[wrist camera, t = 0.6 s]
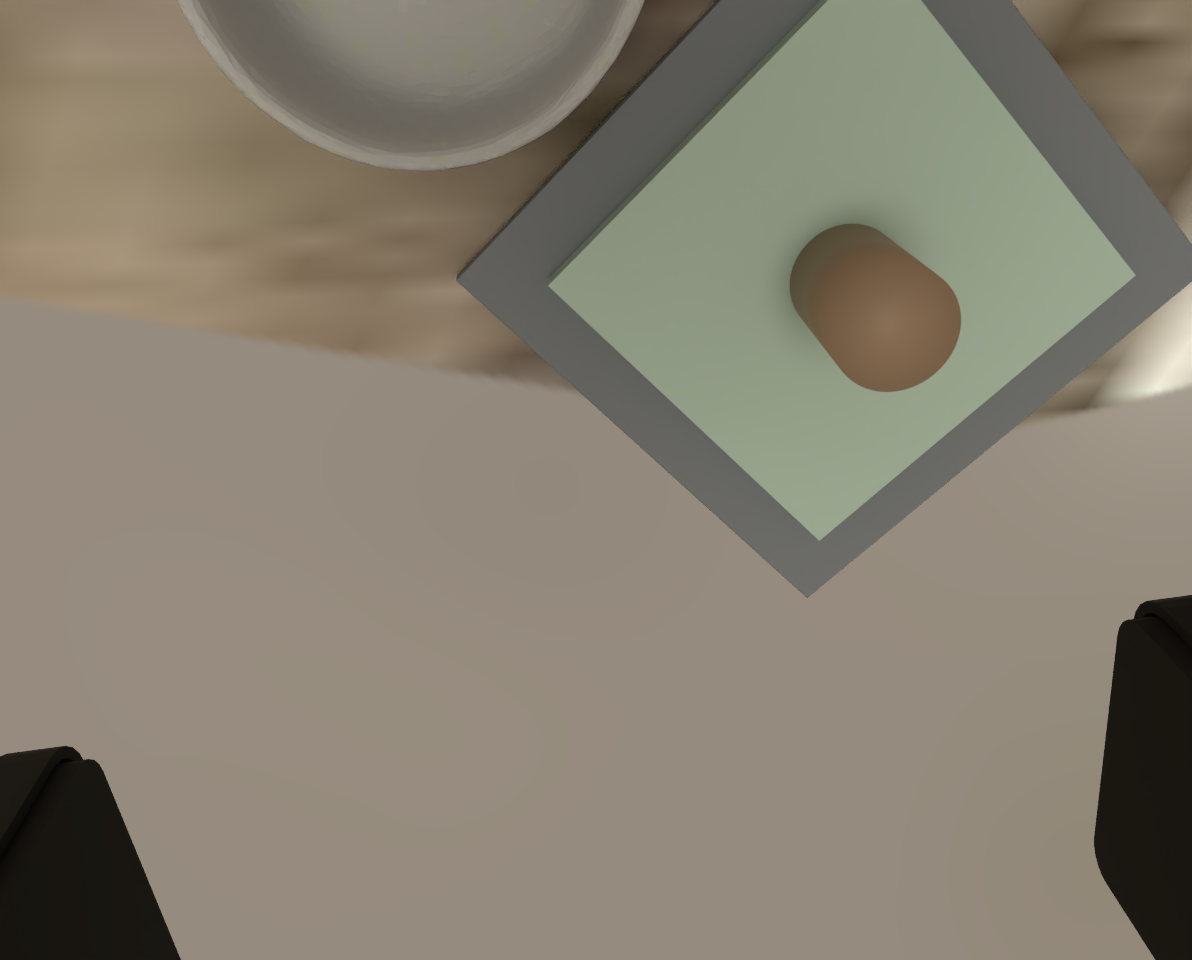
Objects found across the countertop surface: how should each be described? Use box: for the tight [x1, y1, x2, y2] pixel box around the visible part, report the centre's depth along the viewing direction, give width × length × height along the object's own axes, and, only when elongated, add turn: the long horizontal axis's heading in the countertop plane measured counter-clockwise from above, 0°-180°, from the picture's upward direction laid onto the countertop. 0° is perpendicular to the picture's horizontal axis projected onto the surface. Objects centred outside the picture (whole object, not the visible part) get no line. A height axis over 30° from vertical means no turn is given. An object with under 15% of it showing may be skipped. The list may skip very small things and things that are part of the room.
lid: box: [548, 0, 1136, 541], centre depth 31 cm, size 13×13×6 cm
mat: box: [456, 0, 1192, 598], centre depth 34 cm, size 17×17×1 cm
